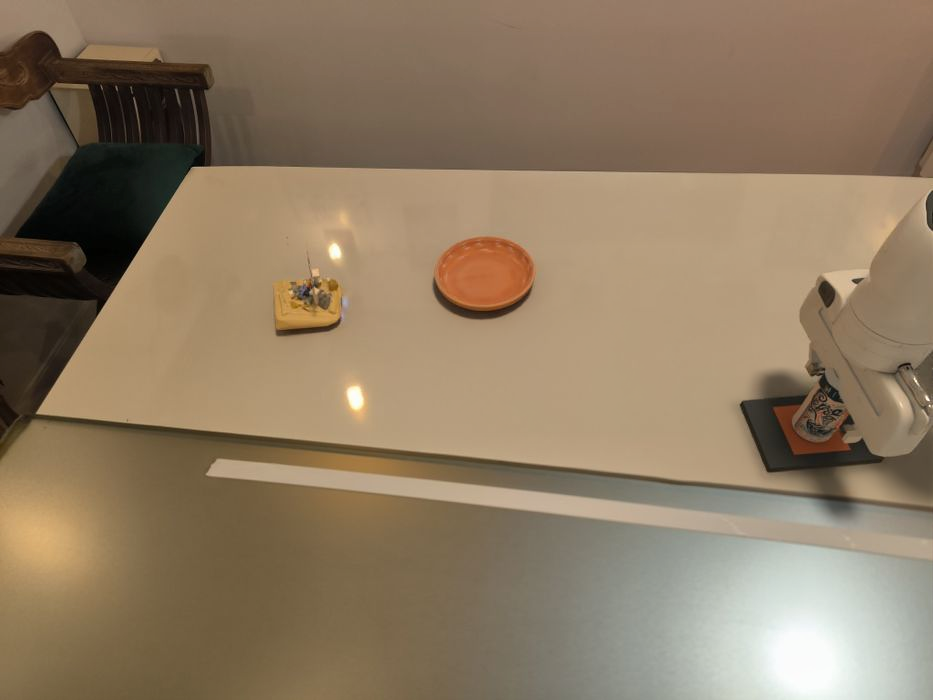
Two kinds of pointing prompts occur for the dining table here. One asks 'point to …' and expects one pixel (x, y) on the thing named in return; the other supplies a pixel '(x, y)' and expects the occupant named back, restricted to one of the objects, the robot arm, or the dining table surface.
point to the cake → (307, 302)
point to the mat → (798, 438)
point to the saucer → (484, 273)
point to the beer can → (821, 410)
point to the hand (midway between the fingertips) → (829, 403)
